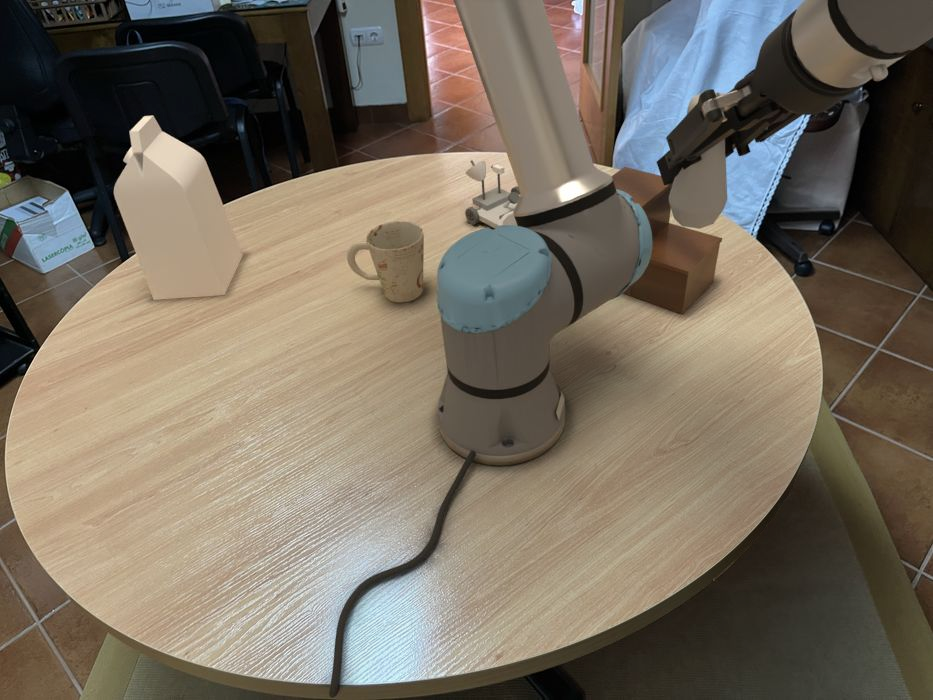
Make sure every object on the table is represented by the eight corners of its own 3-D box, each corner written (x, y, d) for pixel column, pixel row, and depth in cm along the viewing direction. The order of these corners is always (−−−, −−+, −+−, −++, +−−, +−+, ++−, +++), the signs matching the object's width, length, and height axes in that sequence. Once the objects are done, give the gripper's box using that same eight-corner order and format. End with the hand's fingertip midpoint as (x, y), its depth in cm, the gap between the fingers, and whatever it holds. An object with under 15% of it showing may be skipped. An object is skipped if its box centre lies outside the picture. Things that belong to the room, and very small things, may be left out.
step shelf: (682, 315, 96) (695, 224, 87) (583, 280, 105) (586, 194, 96) (714, 281, 102) (730, 192, 93) (618, 250, 111) (624, 166, 102)
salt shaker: (689, 200, 76) (706, 81, 68) (734, 218, 73) (758, 94, 65) (655, 219, 74) (668, 98, 66) (700, 238, 70) (720, 112, 62)
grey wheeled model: (451, 165, 118) (502, 144, 123) (456, 216, 124) (504, 194, 129) (523, 198, 106) (576, 173, 112) (525, 252, 112) (574, 227, 118)
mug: (423, 309, 102) (414, 250, 96) (343, 304, 105) (330, 247, 99) (436, 278, 109) (429, 221, 102) (360, 274, 111) (349, 219, 105)
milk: (224, 295, 109) (167, 136, 93) (153, 299, 110) (84, 143, 94) (243, 255, 119) (193, 105, 102) (177, 259, 119) (118, 111, 103)
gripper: (755, 112, 49) (622, 219, 72) (935, 72, 52) (753, 186, 75) (722, 15, 49) (600, 151, 72) (902, -18, 53) (731, 122, 76)
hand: (678, 169), depth 74 cm, fingers closed on salt shaker, 3 cm apart
